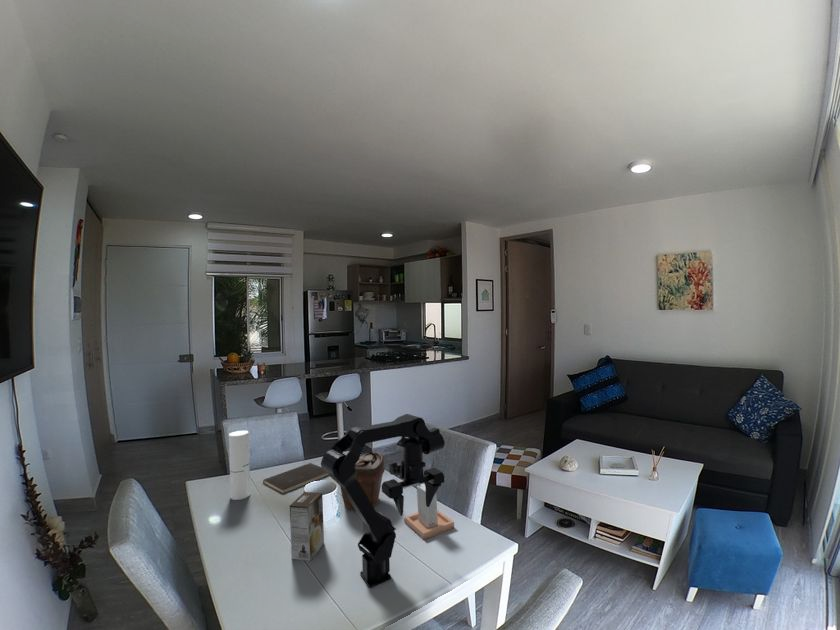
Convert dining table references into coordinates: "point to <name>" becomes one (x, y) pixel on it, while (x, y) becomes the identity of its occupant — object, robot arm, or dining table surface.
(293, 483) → the hardcover book
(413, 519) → the terracotta dish
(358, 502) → the robot arm
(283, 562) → the dining table surface
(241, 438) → the cylindrical container
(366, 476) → the brown flower pot
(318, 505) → the coffee box
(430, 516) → the skincare box
